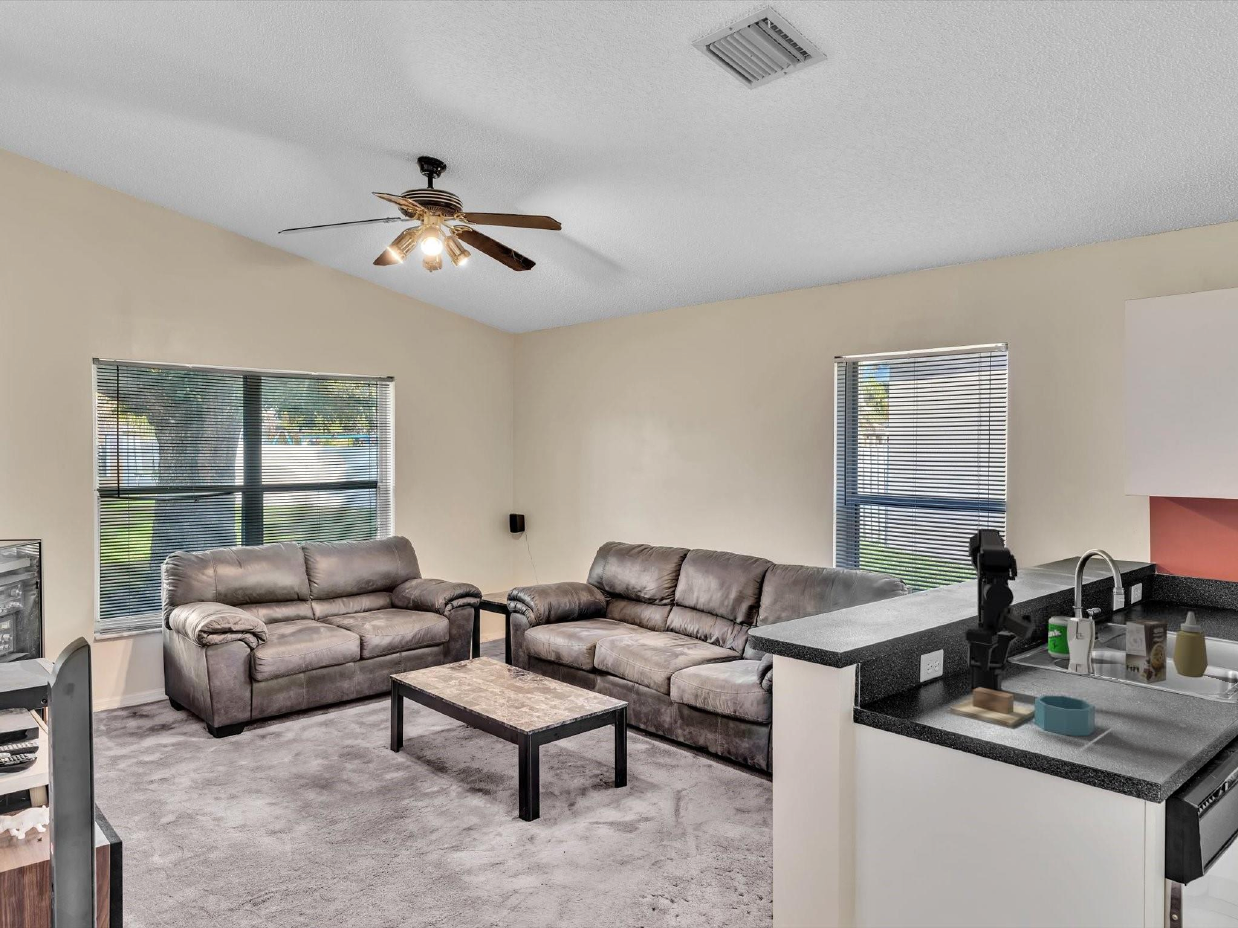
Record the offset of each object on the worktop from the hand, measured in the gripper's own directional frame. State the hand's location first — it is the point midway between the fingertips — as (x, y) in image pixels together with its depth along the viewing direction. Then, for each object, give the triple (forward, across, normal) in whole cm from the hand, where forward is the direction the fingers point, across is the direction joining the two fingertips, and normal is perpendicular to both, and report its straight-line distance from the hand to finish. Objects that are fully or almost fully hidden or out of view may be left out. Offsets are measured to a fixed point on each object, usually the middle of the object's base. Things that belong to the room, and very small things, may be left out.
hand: (993, 667), depth 192 cm
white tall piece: (+12, +59, 0) cm, 60 cm away
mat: (+11, 0, 0) cm, 11 cm away
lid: (+11, 0, 0) cm, 11 cm away
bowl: (+11, +2, -15) cm, 19 cm away
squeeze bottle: (+12, +79, -22) cm, 83 cm away
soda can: (+12, +74, +10) cm, 75 cm away
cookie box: (+12, +64, -15) cm, 67 cm away
